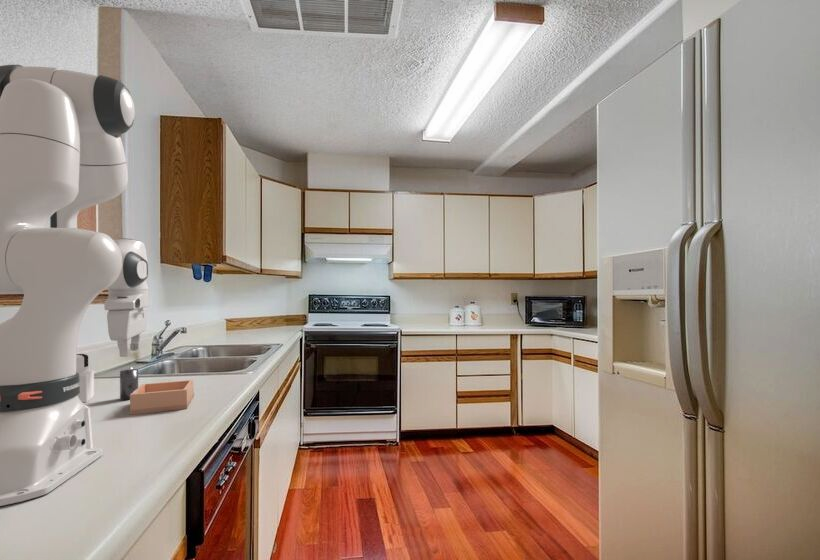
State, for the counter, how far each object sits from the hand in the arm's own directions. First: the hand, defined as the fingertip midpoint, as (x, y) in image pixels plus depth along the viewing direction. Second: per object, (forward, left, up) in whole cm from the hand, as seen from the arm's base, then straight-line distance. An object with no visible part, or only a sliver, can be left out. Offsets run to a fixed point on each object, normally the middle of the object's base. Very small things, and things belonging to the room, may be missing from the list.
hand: (129, 353), depth 111 cm
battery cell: (0, 0, -12) cm, 12 cm away
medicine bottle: (+3, +13, -12) cm, 18 cm away
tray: (-11, -10, -12) cm, 19 cm away
